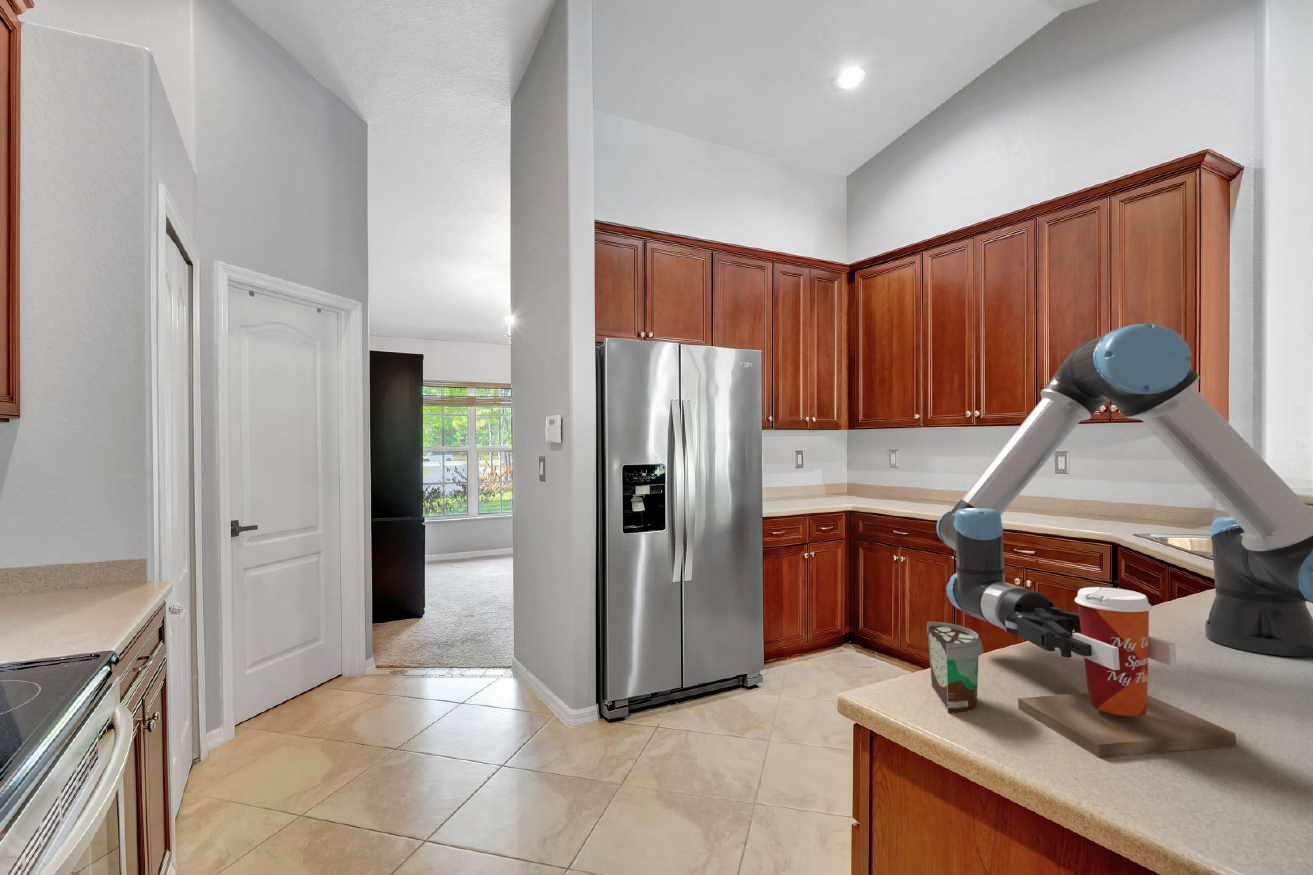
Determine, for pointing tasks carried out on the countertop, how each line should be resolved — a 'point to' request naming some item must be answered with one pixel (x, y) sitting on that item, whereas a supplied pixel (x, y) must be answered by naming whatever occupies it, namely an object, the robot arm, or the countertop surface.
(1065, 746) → the countertop surface
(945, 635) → the food container
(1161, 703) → the walnut board
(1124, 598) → the coffee cup
